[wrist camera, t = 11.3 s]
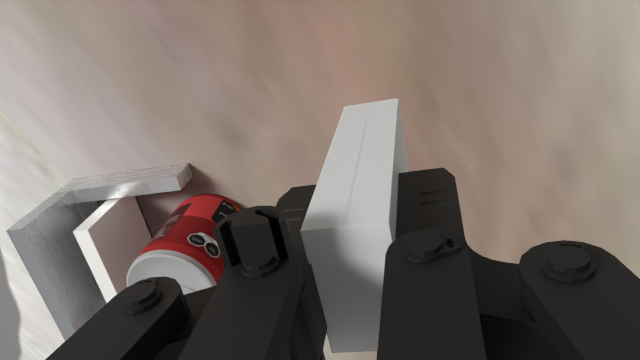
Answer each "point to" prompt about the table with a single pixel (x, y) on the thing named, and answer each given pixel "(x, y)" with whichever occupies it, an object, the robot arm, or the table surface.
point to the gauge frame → (61, 244)
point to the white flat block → (113, 242)
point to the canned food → (186, 245)
